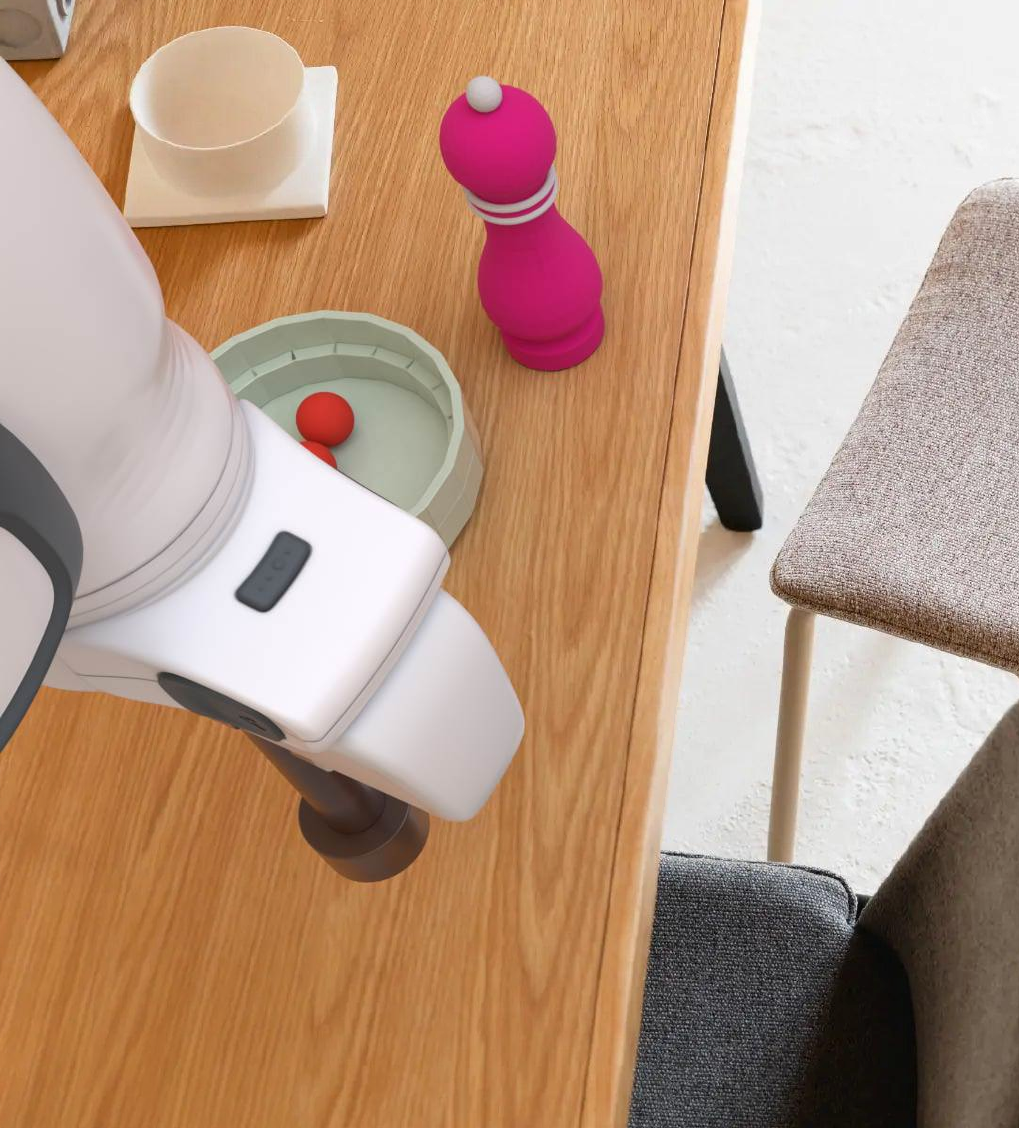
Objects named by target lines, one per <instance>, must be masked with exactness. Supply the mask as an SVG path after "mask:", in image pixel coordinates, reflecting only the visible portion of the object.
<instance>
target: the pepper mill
mask: <svg viewBox="0 0 1019 1128" xmlns="http://www.w3.org/2000/svg"><path fill="white" fill-rule="evenodd" d="M438 136H439V137H438V140H439V141H438V142H439V149H440V150H439V151H440V154H441V157H442V161H443V163H444V165H445V168H446V169H447V171H448V173H449V174H450V175H451V177H452V178H453V179H454V180H455V181H456V183H458V185H461V187H462V191H463V193H464V195H465V200H466V203H467V205H468V207H469V209H470V210H471V211H472V212H473V213H474V214H475V215H476V216H477V217H479V218H480V219H481V220H482V221H483V224H484V227H485V228H484V229H485V232H486V239H485V242H484V246H483V249H482V251H481V255H480V258H479V263H478V269H477V289H478V295H479V299H480V303H481V306H482V309H483V311H484V312H485V314H486V316H487V317H488V319H489V321H491V322H492V323H493V324H494V326H496V327H497V328H498V329H499V332H500V333H499V334H500V336H501V338H502V341H503V344H504V346H505V349H506V350H507V352H508V353H509V355H510V356H511V357H512V358H513V359H514V360H515V361H517V362H518V363H519V364H521V365H523V366H525V367H527V368H530V369H533V370H538V371H548V372H549V371H551V372H553V371H555V372H556V371H559V370H564V369H569V368H571V367H574V366H576V365H578V364H580V363H582V362H584V361H585V360H587V358H589V357H590V356H591V355H593V353H595V351H596V350H597V348H598V347H599V346H600V344H601V342H602V340H603V337H604V333H605V327H606V326H605V325H606V324H605V323H606V321H605V317H604V313H603V308H602V305H601V299H602V293H603V288H604V281H603V274H602V271H601V268H600V265H599V263H598V260H597V257H596V255H595V253H594V251H593V249H592V248H591V247H590V246H589V244H588V242H587V241H586V240H585V239H584V237H583V236H582V235H581V234H580V233H579V232H578V230H576V229H575V228H574V226H572V225H571V224H570V223H568V221H567V220H566V219H565V218H564V217H562V215H561V214H560V213H559V211H558V209H557V206H556V203H555V200H556V198H557V196H558V192H559V178H558V175H557V173H556V167H555V164H554V161H555V159H556V155H557V143H558V141H557V135H556V130H555V126H554V123H553V121H552V119H551V116H550V115H549V113H548V111H547V110H546V108H545V107H544V106H543V104H542V103H540V101H539V100H538V99H537V98H536V97H534V96H533V95H532V94H531V93H529V92H527V91H525V90H523V89H521V88H518V87H516V86H512V85H508V84H502V83H499V82H498V81H496V80H495V79H494V78H493V77H490V76H487V75H477V76H475V77H473V78H472V79H471V80H470V81H469V82H468V84H467V85H466V88H465V92H463V93H462V94H461V95H459V96H457V98H456V99H454V100H453V101H452V102H451V104H450V105H449V107H448V108H447V109H446V111H445V113H444V115H443V117H442V119H441V123H440V127H439V135H438Z"/></svg>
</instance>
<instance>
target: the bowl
mask: <svg viewBox="0 0 1019 1128" xmlns="http://www.w3.org/2000/svg"><path fill="white" fill-rule="evenodd" d="M207 354H208V355H209V356H210V357H211V359H212V360H213V362H214V363H215V365H216V366H217V367H218V369H219V371H220V372H221V374H222V375H223V377H224V379H225V380H226V382H227V384H228V386H229V387H230V388H231V390H232V392H233V393H234V395H235V396H236V398H237V400H238V401H239V400H240V399H245V400H248V401H250V402H251V403H253V404H254V405H255V406H257V407H258V408H259V409H261V410H262V411H263V412H264V413H266V414H267V415H268V416H269V417H270V418H271V419H272V420H273V421H275V422H276V423H277V424H278V425H279V426H280V427H281V428H282V429H283V430H285V431H286V432H287V433H288V434H289V435H290V436H291V437H293V438H294V439H295V440H296V441H297V442H302V441H306V440H305V439H304V438H303V437H302V435H301V434H300V432H299V431H298V428H297V425H296V413H297V409H298V407H299V405H300V404H301V402H302V401H303V400H304V399H305V398H306V397H308V396H309V395H312V394H314V393H317V392H331V393H335V394H337V395H339V396H341V397H342V398H344V399H345V400H346V401H347V402H348V403H349V405H350V406H351V408H352V410H353V413H354V428H353V430H352V433H351V434H350V436H349V437H348V438H347V439H346V440H345V441H344V442H343V443H341V444H339V445H337V446H333V447H326V448H327V449H328V450H329V451H330V452H331V453H332V454H333V456H334V458H335V460H336V462H337V467H338V470H340V471H341V472H343V473H344V474H346V475H347V476H349V477H351V478H352V479H354V480H355V481H357V482H358V483H360V484H362V485H363V486H365V487H367V488H368V489H370V490H372V491H373V492H375V493H377V494H379V495H380V496H382V497H384V498H385V499H387V500H389V501H391V502H392V503H394V504H395V505H397V506H398V507H400V508H401V509H403V510H404V511H406V512H408V513H410V514H412V515H413V516H415V517H417V518H418V519H420V520H421V521H423V522H424V523H426V524H427V525H429V526H430V527H431V528H432V529H433V530H434V531H435V532H436V533H437V534H438V535H439V537H440V538H441V539H442V541H443V542H444V544H445V546H446V548H447V550H448V551H449V550H450V548H451V547H452V545H453V544H454V543H455V541H456V540H457V538H458V536H459V535H460V533H461V531H462V530H463V529H464V527H465V525H466V524H467V523H468V521H469V519H470V518H471V516H472V515H473V512H474V511H475V507H476V503H477V498H478V494H479V491H480V488H481V483H482V479H483V477H484V471H485V470H484V462H483V453H482V443H481V435H480V432H479V429H478V427H477V424H476V422H475V420H474V417H473V415H472V413H471V410H470V407H469V404H468V402H467V400H466V398H465V394H464V393H463V389H462V388H461V385H460V383H459V382H458V380H457V378H456V376H455V374H454V373H453V371H452V369H451V367H450V366H449V363H448V362H447V360H446V358H445V357H444V355H443V354H442V352H441V351H440V350H438V349H437V348H436V347H434V346H433V345H432V344H431V343H429V341H428V340H426V339H425V338H423V337H422V336H421V335H420V334H419V333H417V332H416V331H415V330H413V329H412V328H410V327H408V326H406V325H403V324H402V323H401V324H400V323H398V322H395V321H392V320H390V319H386V318H384V317H381V316H379V315H376V314H373V313H369V312H358V311H357V312H356V311H343V310H334V309H333V310H332V309H320V310H314V311H307V312H303V313H297V314H291V315H286V316H281V317H280V316H279V317H276V318H273V319H271V320H269V321H266V322H264V323H262V324H259V325H257V326H255V327H252V328H250V329H248V330H245V331H242V332H240V333H238V334H235V335H234V336H231V337H229V338H228V339H227V340H226V341H224V342H223V343H222V344H221V343H220V344H219V345H218V346H217V347H215V349H213V350H212V351H210V352H208V353H207Z"/></svg>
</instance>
